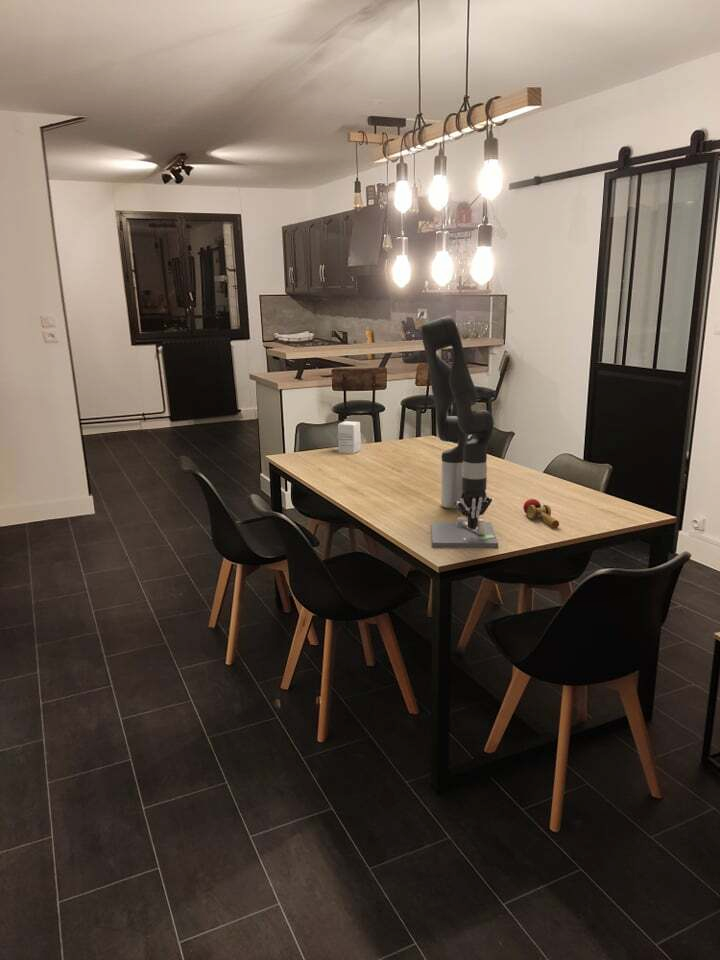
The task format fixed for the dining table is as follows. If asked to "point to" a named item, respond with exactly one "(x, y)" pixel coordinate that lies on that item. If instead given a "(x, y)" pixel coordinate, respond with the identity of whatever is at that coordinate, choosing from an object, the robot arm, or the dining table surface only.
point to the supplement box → (349, 436)
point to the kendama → (540, 512)
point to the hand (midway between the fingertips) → (472, 528)
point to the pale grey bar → (480, 528)
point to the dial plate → (462, 536)
